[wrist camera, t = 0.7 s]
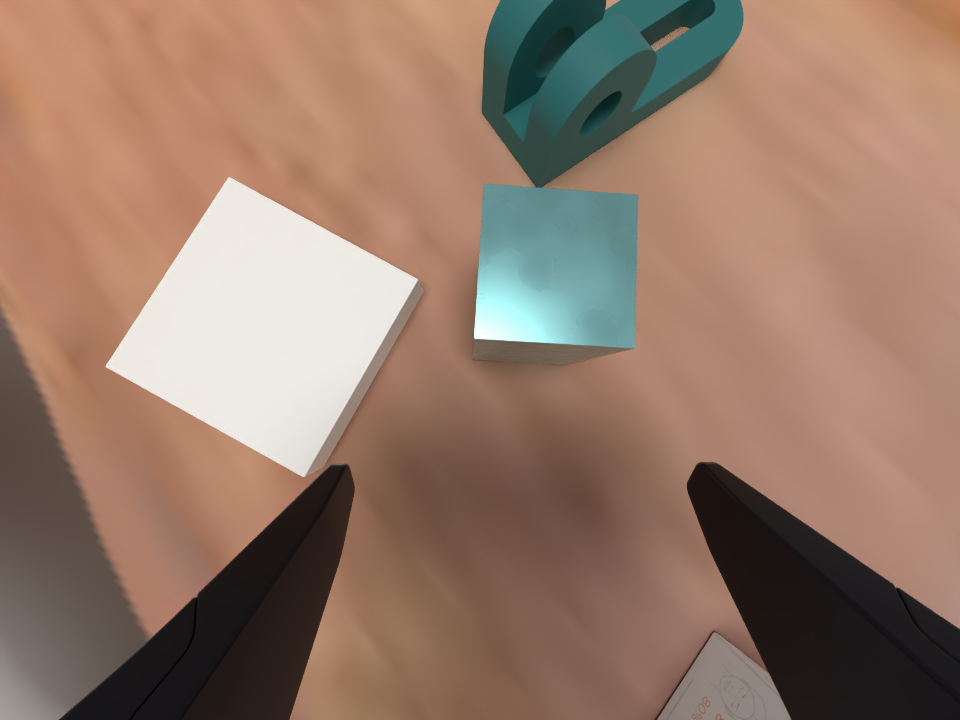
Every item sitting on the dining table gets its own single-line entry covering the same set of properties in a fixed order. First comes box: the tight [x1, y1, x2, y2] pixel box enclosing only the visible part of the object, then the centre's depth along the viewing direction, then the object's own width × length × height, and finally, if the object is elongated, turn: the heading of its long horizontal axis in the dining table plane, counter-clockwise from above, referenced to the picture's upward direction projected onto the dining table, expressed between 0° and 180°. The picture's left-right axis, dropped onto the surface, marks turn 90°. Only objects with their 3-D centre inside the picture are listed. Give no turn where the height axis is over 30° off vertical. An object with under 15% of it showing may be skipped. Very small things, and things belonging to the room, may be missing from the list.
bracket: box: [482, 0, 743, 188], centre depth 21 cm, size 18×7×8 cm, turn 125°
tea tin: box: [473, 184, 638, 365], centre depth 18 cm, size 6×6×10 cm
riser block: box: [106, 177, 424, 477], centre depth 22 cm, size 13×13×3 cm
